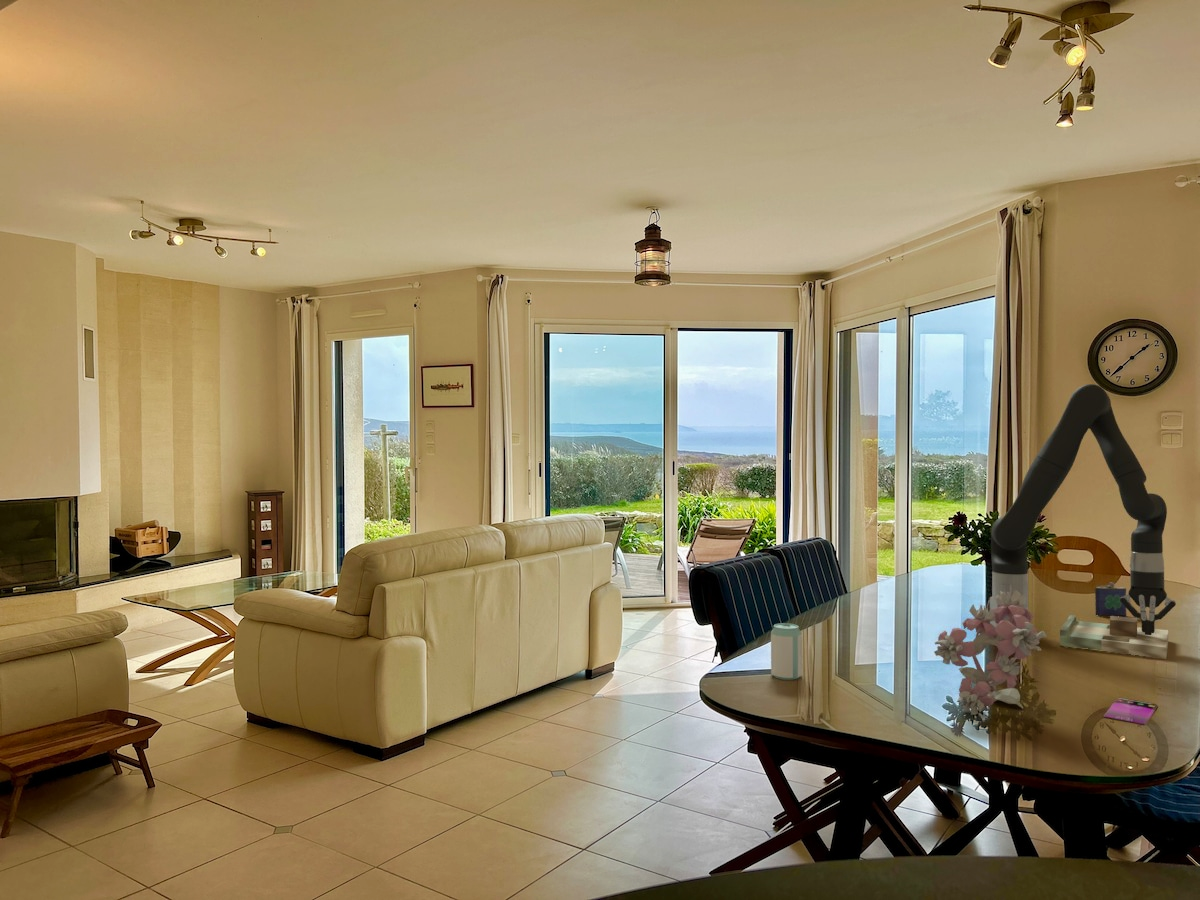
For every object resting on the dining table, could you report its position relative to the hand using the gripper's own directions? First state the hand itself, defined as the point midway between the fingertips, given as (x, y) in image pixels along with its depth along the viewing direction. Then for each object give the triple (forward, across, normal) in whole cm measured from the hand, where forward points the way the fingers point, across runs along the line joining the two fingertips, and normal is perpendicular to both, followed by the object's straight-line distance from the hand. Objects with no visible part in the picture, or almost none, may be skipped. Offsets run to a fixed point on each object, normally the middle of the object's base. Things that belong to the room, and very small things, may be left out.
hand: (1148, 634), depth 221 cm
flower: (+4, +25, +78) cm, 82 cm away
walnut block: (0, +6, 0) cm, 6 cm away
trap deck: (+4, +8, 0) cm, 8 cm away
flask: (+4, +11, -42) cm, 43 cm away
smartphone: (+4, +1, +64) cm, 64 cm away
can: (+3, +68, +79) cm, 105 cm away
